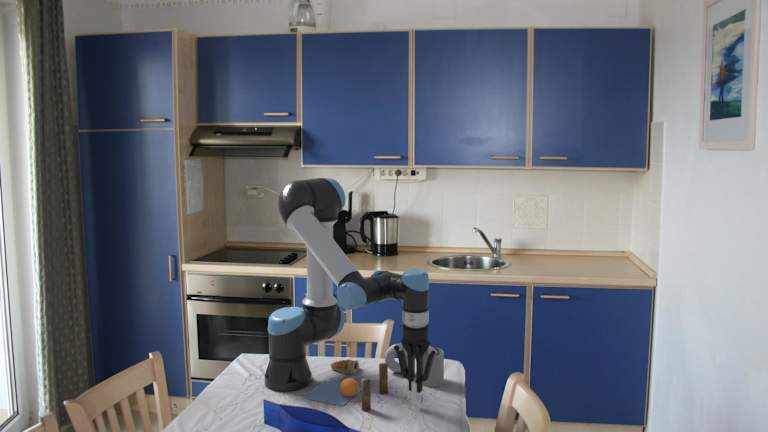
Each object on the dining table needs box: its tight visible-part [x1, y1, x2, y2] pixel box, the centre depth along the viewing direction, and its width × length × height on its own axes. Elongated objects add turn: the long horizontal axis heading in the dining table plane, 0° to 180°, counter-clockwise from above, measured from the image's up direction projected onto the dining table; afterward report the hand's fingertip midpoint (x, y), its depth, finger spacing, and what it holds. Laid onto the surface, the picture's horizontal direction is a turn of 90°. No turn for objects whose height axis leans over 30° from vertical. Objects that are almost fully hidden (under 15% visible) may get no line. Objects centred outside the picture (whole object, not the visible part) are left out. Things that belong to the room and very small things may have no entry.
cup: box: [423, 346, 445, 388], centre depth 212 cm, size 8×8×10 cm
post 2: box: [378, 362, 389, 395], centre depth 204 cm, size 3×3×9 cm
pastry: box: [330, 358, 360, 375], centre depth 223 cm, size 9×7×4 cm
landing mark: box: [302, 380, 361, 407], centre depth 204 cm, size 14×14×1 cm
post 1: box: [360, 377, 372, 412], centre depth 192 cm, size 3×3×9 cm
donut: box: [384, 343, 408, 374], centre depth 219 cm, size 10×4×10 cm, turn 86°
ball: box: [340, 377, 359, 397], centre depth 202 cm, size 6×6×6 cm
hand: (415, 401), depth 193 cm, fingers closed
